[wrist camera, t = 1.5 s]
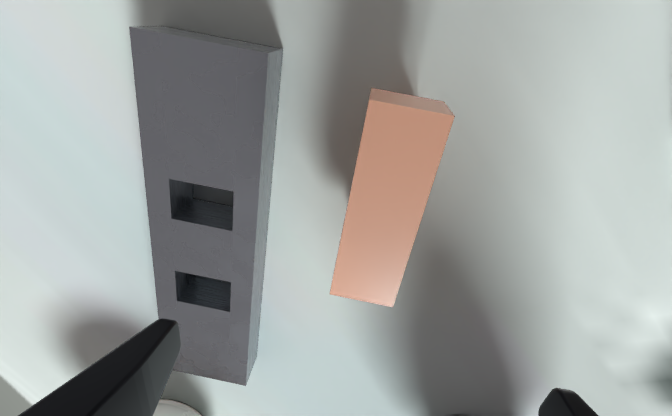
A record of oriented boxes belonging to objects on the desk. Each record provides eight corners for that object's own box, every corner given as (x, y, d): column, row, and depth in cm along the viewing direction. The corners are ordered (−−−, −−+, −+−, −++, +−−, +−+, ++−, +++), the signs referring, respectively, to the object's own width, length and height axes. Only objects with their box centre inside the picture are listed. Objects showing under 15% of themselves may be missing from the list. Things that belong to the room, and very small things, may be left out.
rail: (282, 48, 17) (268, 53, 15) (256, 356, 28) (245, 385, 25) (161, 26, 17) (129, 26, 15) (180, 340, 28) (163, 368, 26)
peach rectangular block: (434, 89, 17) (454, 116, 12) (390, 242, 21) (392, 307, 17) (373, 77, 17) (369, 99, 12) (341, 232, 22) (329, 294, 17)
